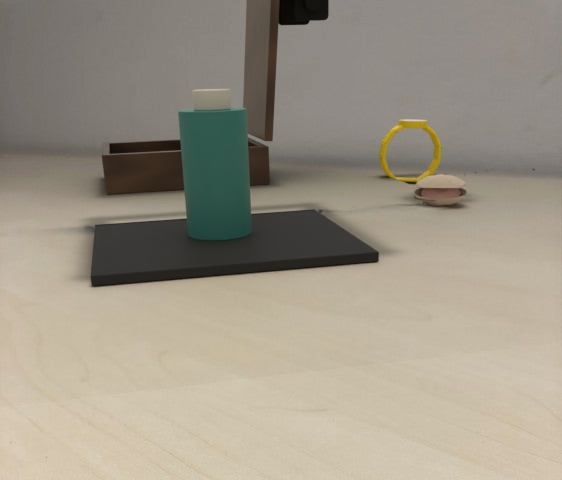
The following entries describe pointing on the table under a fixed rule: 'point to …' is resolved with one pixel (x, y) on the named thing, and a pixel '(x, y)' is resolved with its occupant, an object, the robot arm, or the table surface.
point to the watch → (402, 124)
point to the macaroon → (440, 189)
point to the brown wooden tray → (163, 166)
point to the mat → (221, 248)
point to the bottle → (215, 167)
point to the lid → (260, 66)
